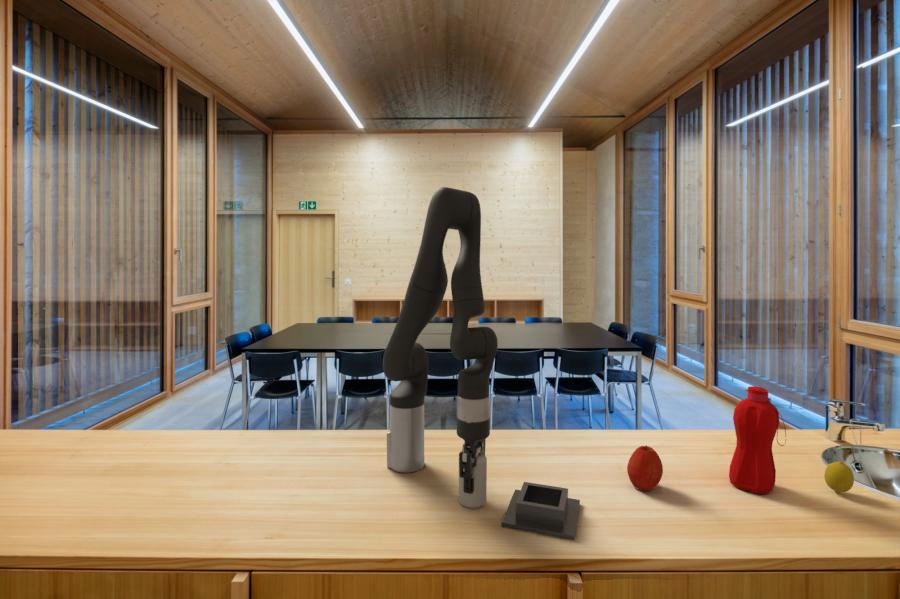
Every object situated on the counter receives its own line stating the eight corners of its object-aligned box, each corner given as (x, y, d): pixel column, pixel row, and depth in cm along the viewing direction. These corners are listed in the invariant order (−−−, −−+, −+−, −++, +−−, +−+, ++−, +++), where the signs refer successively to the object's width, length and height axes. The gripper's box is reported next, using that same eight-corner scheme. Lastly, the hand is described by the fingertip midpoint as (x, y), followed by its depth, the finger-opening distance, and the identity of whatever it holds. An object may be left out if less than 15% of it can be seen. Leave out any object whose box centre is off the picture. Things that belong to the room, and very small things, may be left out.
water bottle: (778, 502, 114) (786, 397, 111) (725, 486, 121) (732, 387, 119) (785, 487, 121) (792, 388, 118) (734, 474, 128) (741, 380, 125)
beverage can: (484, 511, 109) (485, 459, 108) (456, 508, 110) (456, 457, 109) (487, 497, 115) (488, 448, 114) (461, 494, 117) (461, 446, 115)
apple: (666, 497, 116) (668, 453, 115) (629, 493, 117) (631, 450, 116) (657, 481, 124) (659, 440, 123) (623, 478, 125) (625, 437, 124)
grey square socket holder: (501, 526, 103) (501, 506, 103) (515, 493, 117) (515, 475, 117) (574, 540, 98) (575, 519, 98) (579, 504, 112) (580, 485, 112)
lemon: (846, 489, 120) (849, 458, 119) (856, 500, 114) (859, 468, 114) (819, 486, 121) (822, 455, 121) (828, 496, 116) (831, 464, 115)
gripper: (466, 403, 119) (466, 470, 120) (447, 423, 105) (447, 498, 107) (496, 407, 116) (496, 474, 118) (481, 427, 103) (480, 503, 104)
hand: (472, 485), depth 112 cm, fingers closed on beverage can, 6 cm apart
